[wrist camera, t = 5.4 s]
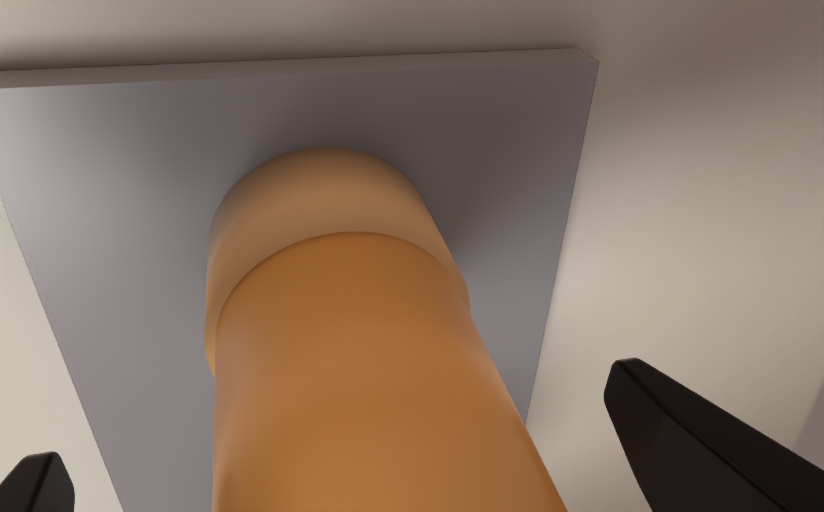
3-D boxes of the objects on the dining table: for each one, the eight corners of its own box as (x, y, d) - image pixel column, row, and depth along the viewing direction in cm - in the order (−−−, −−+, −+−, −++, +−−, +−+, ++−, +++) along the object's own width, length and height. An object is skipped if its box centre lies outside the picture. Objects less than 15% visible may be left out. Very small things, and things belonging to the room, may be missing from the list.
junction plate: (498, 485, 23) (602, 740, 17) (154, 554, 20) (121, 887, 14) (578, 47, 14) (876, 237, 7) (-23, 71, 11) (-349, 392, 5)
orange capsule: (452, 400, 13) (576, 717, 9) (233, 436, 12) (238, 818, 8) (470, 218, 11) (662, 530, 6) (195, 246, 10) (166, 645, 5)
